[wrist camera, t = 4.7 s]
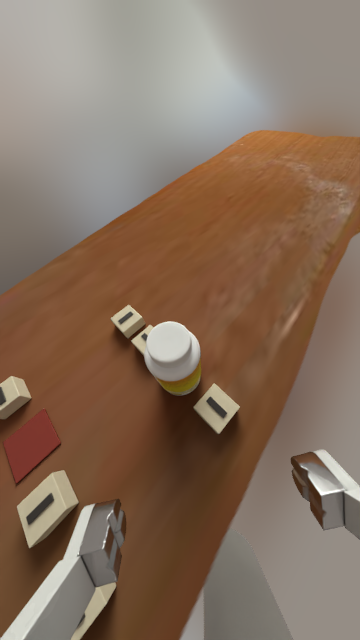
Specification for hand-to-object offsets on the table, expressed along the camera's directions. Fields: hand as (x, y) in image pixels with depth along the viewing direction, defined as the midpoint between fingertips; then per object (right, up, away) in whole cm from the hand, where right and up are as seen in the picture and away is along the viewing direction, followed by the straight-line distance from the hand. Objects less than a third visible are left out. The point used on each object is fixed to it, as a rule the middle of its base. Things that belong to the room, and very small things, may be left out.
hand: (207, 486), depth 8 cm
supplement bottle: (-1, 0, +16) cm, 16 cm away
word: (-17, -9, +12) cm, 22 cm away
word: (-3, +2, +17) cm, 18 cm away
